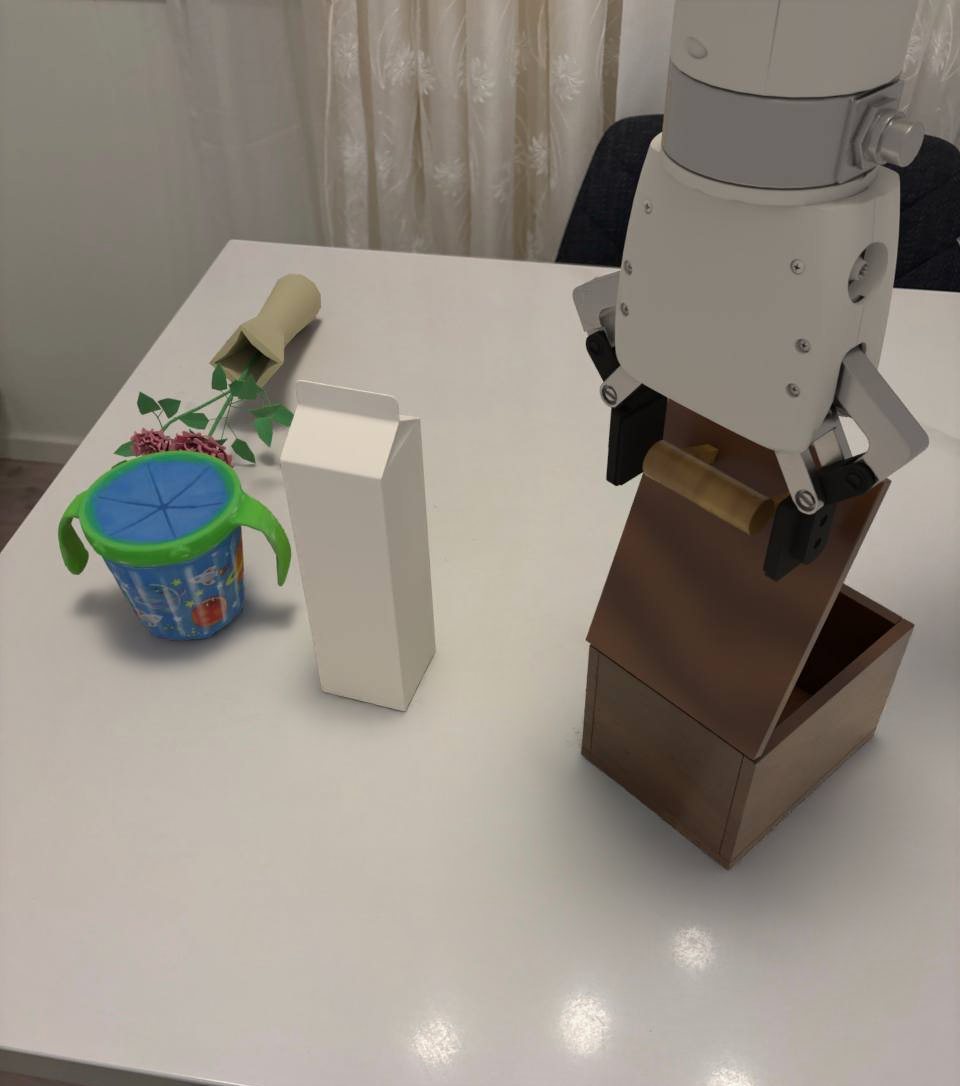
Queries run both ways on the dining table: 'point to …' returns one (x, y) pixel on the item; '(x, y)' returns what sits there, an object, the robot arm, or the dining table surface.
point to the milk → (361, 540)
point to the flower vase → (238, 376)
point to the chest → (721, 769)
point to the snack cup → (172, 539)
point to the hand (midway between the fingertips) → (707, 515)
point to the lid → (719, 580)
